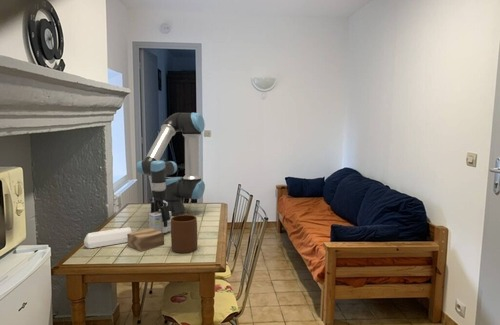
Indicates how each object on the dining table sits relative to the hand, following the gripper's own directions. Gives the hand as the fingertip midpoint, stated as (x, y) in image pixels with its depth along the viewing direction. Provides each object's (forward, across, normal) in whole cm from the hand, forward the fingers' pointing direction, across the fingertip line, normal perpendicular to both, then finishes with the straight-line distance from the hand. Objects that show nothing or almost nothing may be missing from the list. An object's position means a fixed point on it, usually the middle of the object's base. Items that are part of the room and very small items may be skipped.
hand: (160, 230), depth 208 cm
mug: (+1, +26, -4) cm, 27 cm away
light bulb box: (+1, 0, 0) cm, 1 cm away
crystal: (+1, -6, -26) cm, 27 cm away
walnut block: (+1, +10, -16) cm, 19 cm away
